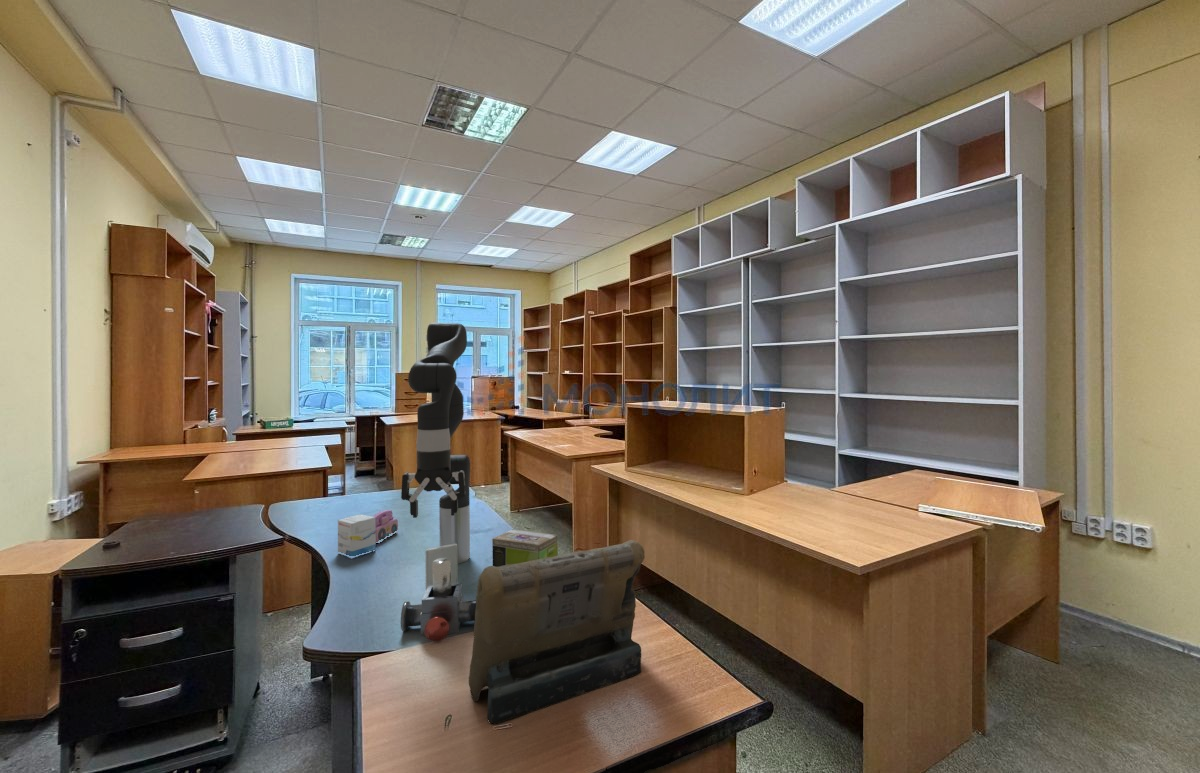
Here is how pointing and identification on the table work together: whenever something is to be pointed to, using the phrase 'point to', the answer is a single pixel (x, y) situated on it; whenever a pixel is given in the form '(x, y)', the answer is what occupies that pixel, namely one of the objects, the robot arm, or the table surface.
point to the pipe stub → (441, 577)
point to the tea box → (523, 547)
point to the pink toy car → (385, 524)
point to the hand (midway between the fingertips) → (434, 515)
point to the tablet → (554, 628)
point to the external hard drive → (441, 552)
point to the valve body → (438, 613)
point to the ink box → (356, 535)
